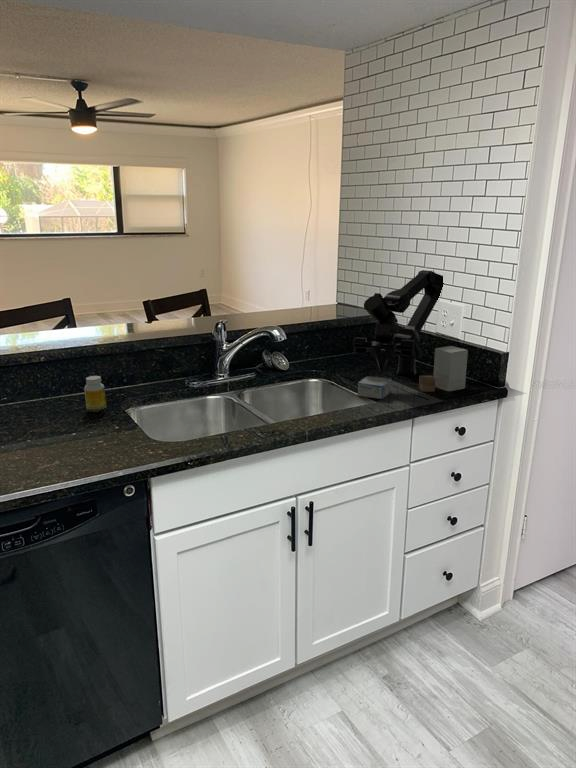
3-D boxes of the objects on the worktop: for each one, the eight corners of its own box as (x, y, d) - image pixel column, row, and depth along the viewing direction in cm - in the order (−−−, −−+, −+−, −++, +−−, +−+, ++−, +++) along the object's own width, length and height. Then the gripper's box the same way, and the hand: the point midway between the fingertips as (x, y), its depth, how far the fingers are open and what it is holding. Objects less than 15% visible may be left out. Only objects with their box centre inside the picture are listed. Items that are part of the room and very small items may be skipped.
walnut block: (418, 387, 180) (419, 375, 179) (431, 387, 180) (432, 375, 179) (421, 391, 176) (422, 379, 175) (434, 391, 176) (435, 379, 175)
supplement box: (465, 388, 179) (469, 349, 176) (448, 392, 176) (451, 352, 172) (449, 382, 186) (452, 345, 182) (431, 386, 182) (434, 347, 178)
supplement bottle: (85, 408, 162) (81, 376, 159) (104, 405, 164) (101, 374, 162) (88, 414, 157) (85, 381, 155) (108, 411, 160) (105, 378, 157)
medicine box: (366, 388, 179) (357, 396, 172) (367, 375, 178) (357, 382, 171) (391, 392, 176) (382, 400, 169) (391, 378, 175) (382, 385, 167)
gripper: (354, 312, 176) (348, 354, 169) (415, 314, 172) (412, 358, 165) (357, 332, 186) (351, 373, 179) (415, 334, 182) (411, 376, 174)
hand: (381, 370), depth 174 cm, fingers closed
